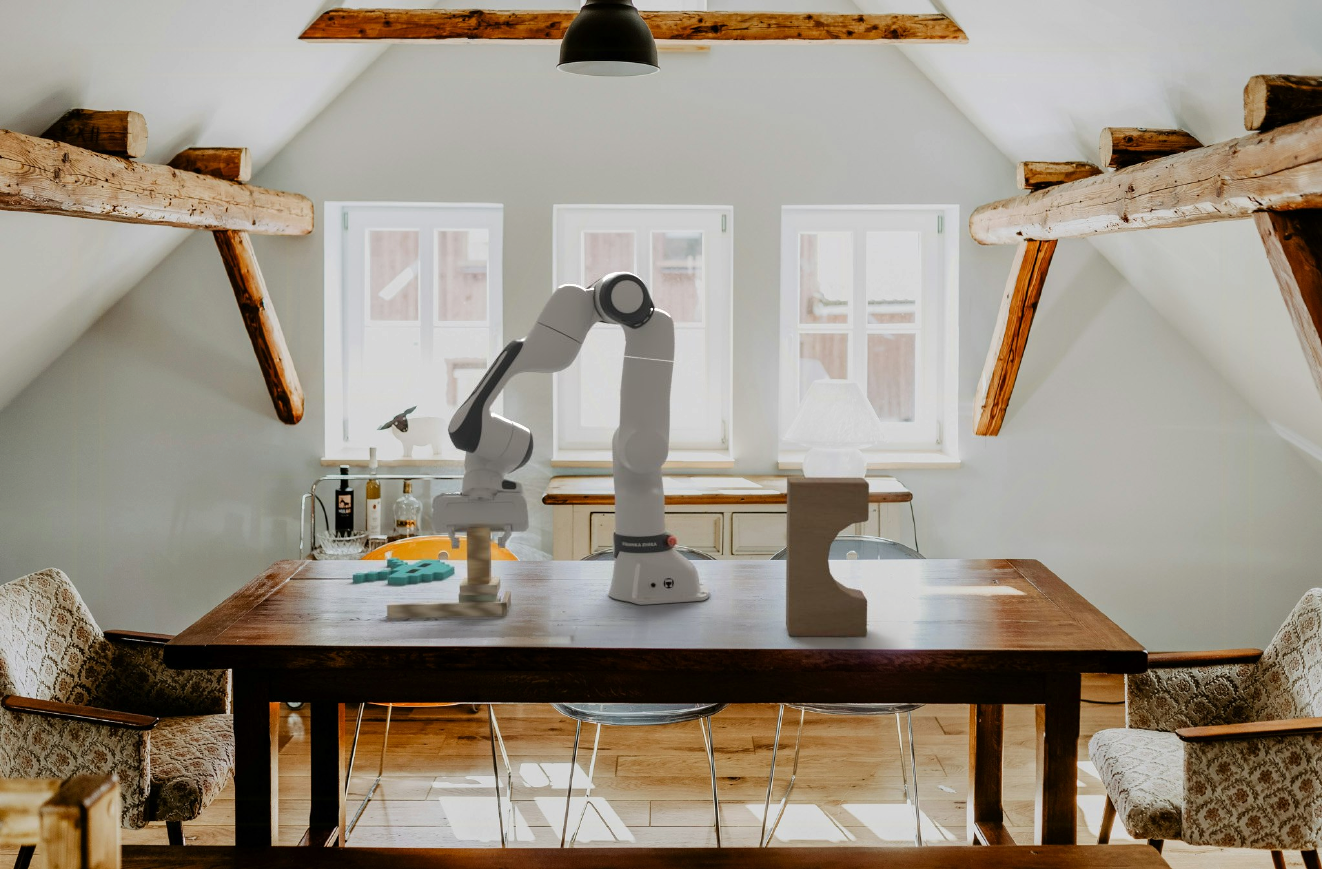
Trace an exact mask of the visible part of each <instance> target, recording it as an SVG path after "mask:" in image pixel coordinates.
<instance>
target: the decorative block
mask: <svg viewBox="0 0 1322 869" xmlns="http://www.w3.org/2000/svg"><path fill="white" fill-rule="evenodd" d="M869 498H870V483H869V482H868V481H867V480H866V478H865V479H864V477H812V476H811V477H807V476H806V477H805V476H804V477H798V476H797V477H791V476H790V477H786V554H785V555H786V556H785V557H786V566H785V567H786V570H785V571H786V573H785V579H786V580H785V584H786V587H785V589H786V590H785V626H786V630H787V634H788V636H789V637H836V638H837V637H839V638H840V637H843V638H844V637H845V638H847V637H848V638H851V637H852V638H856V637H857V638H861V637H862V638H864V637H867V635H868V634H867V633H868V628H867V627H868V599H867V598H866V596H865V595H864V592H863V591H862V590H861V589H855V588H850V587H847V586H845V585H844V584H842V583H840V582H839V581H837V580H836V579H835V578H834V576H833V574H832V573H831V569H830V563H829V556H830V552H831V551H830V550H831V545H832V544H833V542H834V540H835V539H836V538H837V536H838V535H839V533H841V531H844V530H846V528H848V527H850V526H851V525H853V524H859V523H864V522H868V521H869V517H870V516H869V508H870V507H869V506H870V503H869V501H870V499H869Z"/></svg>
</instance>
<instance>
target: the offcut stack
mask: <svg viewBox="0 0 1322 869" xmlns="http://www.w3.org/2000/svg"><path fill="white" fill-rule="evenodd" d="M500 588H501V577H500V576H499V577H496V576H495V577H492V576H491V581H490V583H489V584H468V578H467V577H463V578H462V580H461V583H460V584H459V594H458V603H463V602H502V601H501V600H502V598H501V596H502V595H498V594H499V592H500Z"/></svg>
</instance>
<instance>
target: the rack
mask: <svg viewBox="0 0 1322 869" xmlns="http://www.w3.org/2000/svg"><path fill="white" fill-rule="evenodd" d="M511 594H512V592H511V590H506V591H505V593H504V596H503V599H502V601H501V602H463V603H459V602H425V603H424V602H422V603H419V602H418V603H417V602H413V603H410V602H409V603H408V602H407V603H387V604H386V616H387V617H386V618H387V619H392V618H393V619H394V618H395V619H399V618H400V619H401V618H403V619H404V618H406V619H407V618H453V617H454V618H455V617H456V618H458V617H459V618H460V617H462V618H463V617H495V616H496V617H508V613H509V610H510V606H511V604H512V598H511V597H512V596H511Z"/></svg>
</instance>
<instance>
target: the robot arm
mask: <svg viewBox="0 0 1322 869" xmlns="http://www.w3.org/2000/svg"><path fill="white" fill-rule="evenodd" d="M536 319H537V320H536V321H535V323H534V325H533V326H532V328H531V329H530V331H529V332H528V333H527V334H525V336H524V337H522V338H520V339H514V340H512V341H510V342H509V343H508V344H507V345H506V346H504V347H505V348H503V350H501V352H500V353H499V355H498V356H496V358H495V360H494V362H493V363H492V364H491V365H490V367H489V369H488V370H487V371H485V372H486V373H485V374H484V376H482V378H481V379H480V380H479V383H478V384H477V385H476V387H474V389H473V391H472V392H471V394H470V395H469V397H468V398H467V399H466V400H465V401H464V402H463V404H461V406H460V407H459V408H458V409H457V410H456V411H455V413H454V414H453V415H452V418H451V420H450V421H449V424H448V428H447V431H448V435H449V438H450V441H451V443H452V444H453V446H454V448H455V449H456V450H460V451H464V452H465V455H464V456H465V457H464V464H463V465H464V469H465V472H464V475H463V478H462V488H461V492H449V493H447V492H441V493H440V494H438V495H435V497H434V498H432V503H431V504H432V506H431V507H432V509H433V510H432V514H431V518H430V524H431V529H432V530H433V531H434V532H435V533H436V534H445V533H446V534H447V535H448V538H449V539H450V541H451V549H454V550H455V549H460V545H461V541H460V537H456V534H457V533H458V534H459V533H467V530H468V528H469V527H490V531H491V533H503V535H502V536H498V537H497V548H498V549H505V548H506V547H507V546H506V544H507V541H508V540H509V539H510V537H511V536H512V533H513V532H515V533H517V532H518V533H520V532H521V533H524V532H526V531H527V530H528V529H529V528H530V522H529V511H528V510H529V509H528V504H527V500H526V497H525V495H524V494H525V493H524V492H525V491H524V487H523V484H521V482H518V481H514V480H509V479H506V478H504V477H505V475H506V474H508V475H510V474H511V473H513V472H515V471H517V470H518V469H520V468H522V467H524V466H525V465H527V463H528V462H529V461H530V460H531V457H532V455H533V451H534V437H533V434H532V432H531V430H530V428H528V427H526V426H525V425H522V424H521V423H518V422H516V421H514V420H512V419H508V418H505V417H504V416H502V415H499V414H498V413H495V412H494V411H491V410H490V409H491V406H493V404H494V402H495V401H496V399H497V398H498V396H499V395H500V394H501V392H502V390H503V389H504V388H505V386H506V385H507V383H508V382H509V381H510V379H511V378H513V377H515V376H516V375H519V374H522V373H541V374H553V373H557V372H562V371H564V370H565V369H567V368H569V367H570V366H571V365H572V364H573V362H574V361H575V360H576V358H577V357H578V355H579V352H580V350H581V348H582V347H583V344H584V342H585V340H586V338H587V335H588V333H589V332H590V331H591V328H592V327H593V326H594V325H595V324H596V323H603V324H608V325H618V326H619V325H620V327H621V328H622V330H623V332H624V336H625V337H624V338H625V341H624V342H625V345H624V351H623V352H624V353H623V364H622V371H621V380H620V382H621V383H620V389H619V392H620V393H619V395H620V399H619V400H620V404H619V405H620V407H619V408H620V409H619V425H618V427H617V428H616V429H615V432H614V433H613V435H612V440H611V452H612V471H613V486H614V488H613V489H614V490H613V491H614V523H615V525H614V526H615V528H614V530H615V531H614V532H613V537H612V554H613V558H614V561H613V562H614V563H613V569H612V570H613V572H612V577H611V583H610V587H609V590H608V593H607V594H608V596H609V597H610V598H612V599H613V600H618V601H624V602H628V603H629V602H630V603H632V604H636V605H640V606H641V605H656V604H657V605H658V604H669V603H670V604H672V603H686V602H700V601H701V602H702V601H705V600H707V599H709V597H710V591H709V588H708V586H706V585H705V584H704V583H701V582H700V577H699V573H698V569H697V567H696V565H695V564H694V563H693V562H692V561H691V560H689V559H688V558H686V557H685V556H684V555H683V554H681V553H680V552H678V551H677V550H676V549H675V548H674V547H676V545H677V544H678V541H677V540H678V539H677V538H676V537H675V536H674V535H673V534H671V532H667V531H666V530H665V529H666V528H665V527H666V524H665V518H666V517H665V508H666V507H665V504H666V503H665V492H664V483H663V473H662V467H663V465H664V464H665V463H666V461H667V459H668V455H669V447H670V446H669V444H670V426H671V425H670V424H671V419H670V418H671V417H670V416H671V415H670V414H671V411H670V410H671V409H670V408H671V406H670V405H671V391H672V389H671V388H672V382H673V381H672V378H673V372H674V371H673V370H674V363H675V362H674V361H675V360H674V359H675V348H676V347H675V344H676V342H675V339H676V338H675V324H674V320H673V318H672V317H671V315H670V314H669V313H667V312H666V311H665V310H662V309H660V308H656V306H655V304H654V302H653V300H652V298H651V294H650V292H649V290H648V286H647V285H646V284H645V282H644V281H643V280H642V279H641V278H640V276H638V275H636V274H634V273H631V272H629V271H619V272H611V273H609V274H607V275H604V276H603V277H602V278H599V279H597V280H596V281H595V282H593V283H592V284H590V285H589V286H588V287H586V288H584V287H583V286H581V285H578V284H574V283H565V284H562V285H560V286H558V287H557V288H556V290H554V292H553V293H552V295H551V296H550V298H549V299H548V300H547V302H546V303H545V305H544V307H543V309H542V310H541V312H540V314H539V315H538V317H537V318H536Z"/></svg>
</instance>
